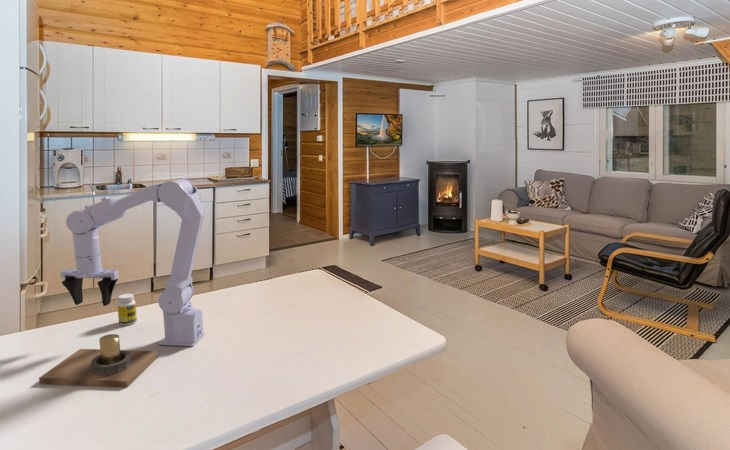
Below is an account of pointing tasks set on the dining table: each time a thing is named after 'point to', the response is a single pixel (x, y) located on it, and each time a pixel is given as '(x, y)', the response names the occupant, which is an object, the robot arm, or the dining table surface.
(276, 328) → the dining table surface
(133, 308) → the supplement bottle
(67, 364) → the jig board
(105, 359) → the cylinder
